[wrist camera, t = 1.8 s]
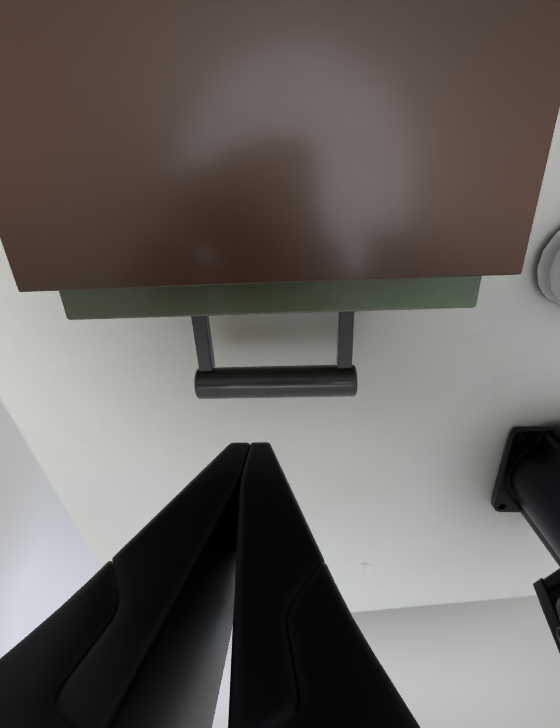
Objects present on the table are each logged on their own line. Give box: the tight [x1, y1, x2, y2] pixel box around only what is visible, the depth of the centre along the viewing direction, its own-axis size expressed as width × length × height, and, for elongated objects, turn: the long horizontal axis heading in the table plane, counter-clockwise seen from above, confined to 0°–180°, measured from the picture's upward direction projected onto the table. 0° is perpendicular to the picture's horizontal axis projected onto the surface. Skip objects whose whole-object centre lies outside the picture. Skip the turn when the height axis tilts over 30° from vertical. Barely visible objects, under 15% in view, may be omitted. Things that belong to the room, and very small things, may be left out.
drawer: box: [59, 276, 481, 399], centre depth 13 cm, size 19×13×7 cm
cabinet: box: [0, 0, 560, 292], centre depth 11 cm, size 16×15×9 cm
